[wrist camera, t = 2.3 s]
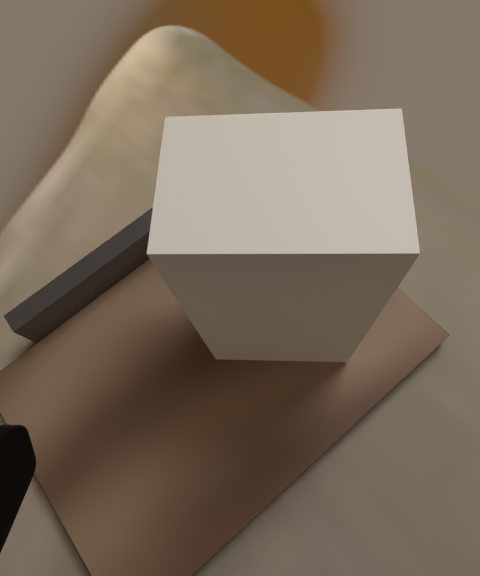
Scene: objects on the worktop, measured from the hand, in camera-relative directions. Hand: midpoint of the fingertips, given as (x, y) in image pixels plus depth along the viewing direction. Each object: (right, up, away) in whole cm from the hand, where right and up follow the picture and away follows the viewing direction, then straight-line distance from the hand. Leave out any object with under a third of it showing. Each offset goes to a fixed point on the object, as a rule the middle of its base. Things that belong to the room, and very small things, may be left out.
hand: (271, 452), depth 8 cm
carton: (+1, +1, +13) cm, 13 cm away
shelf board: (-2, -1, +13) cm, 13 cm away
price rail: (-5, +5, +16) cm, 17 cm away
